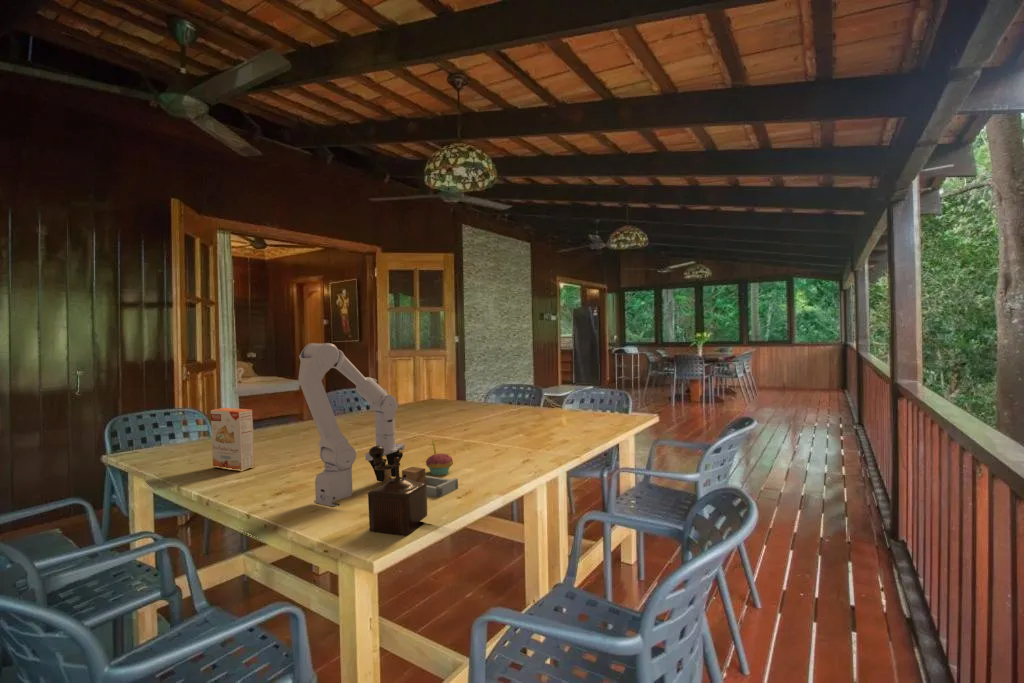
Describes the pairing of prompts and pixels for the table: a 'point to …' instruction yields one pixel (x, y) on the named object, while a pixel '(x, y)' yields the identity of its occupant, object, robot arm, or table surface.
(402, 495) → the manual coffee grinder
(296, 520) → the table surface
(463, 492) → the table surface
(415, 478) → the block
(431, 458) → the cupcake
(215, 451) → the cracker box
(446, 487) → the lane shelf
